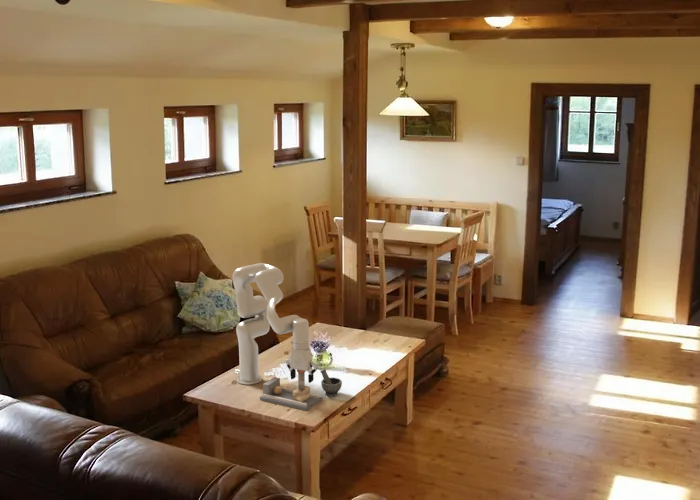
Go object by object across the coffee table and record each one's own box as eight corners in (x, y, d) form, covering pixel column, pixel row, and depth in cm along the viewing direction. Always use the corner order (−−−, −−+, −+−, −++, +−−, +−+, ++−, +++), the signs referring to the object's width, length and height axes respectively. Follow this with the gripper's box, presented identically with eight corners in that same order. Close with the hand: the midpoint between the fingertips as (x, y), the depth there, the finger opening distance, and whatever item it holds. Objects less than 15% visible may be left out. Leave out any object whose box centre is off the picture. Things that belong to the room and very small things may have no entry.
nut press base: (260, 400, 375) (259, 385, 373) (276, 389, 387) (276, 375, 385) (306, 410, 362) (306, 395, 361) (322, 400, 374) (321, 385, 373)
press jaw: (292, 401, 368) (292, 369, 365) (303, 395, 376) (302, 363, 373) (300, 403, 367) (299, 370, 363) (310, 396, 374) (309, 364, 371)
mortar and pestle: (345, 393, 382) (345, 370, 379) (333, 400, 374) (333, 376, 372) (327, 388, 388) (326, 365, 386) (315, 394, 381) (315, 371, 378)
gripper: (281, 344, 366) (282, 379, 370) (312, 350, 358) (313, 385, 362) (289, 340, 373) (290, 374, 376) (321, 345, 365) (322, 380, 368)
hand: (302, 380), depth 369 cm, fingers open, 9 cm apart
